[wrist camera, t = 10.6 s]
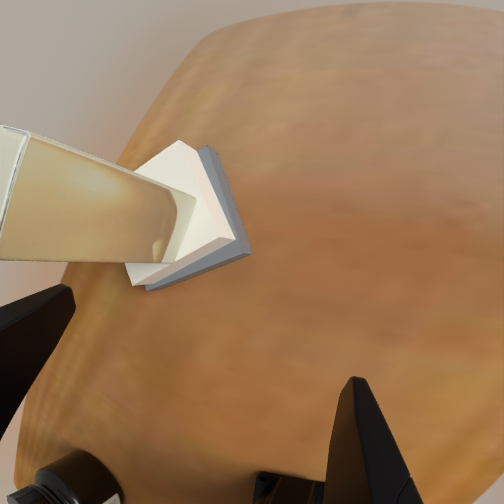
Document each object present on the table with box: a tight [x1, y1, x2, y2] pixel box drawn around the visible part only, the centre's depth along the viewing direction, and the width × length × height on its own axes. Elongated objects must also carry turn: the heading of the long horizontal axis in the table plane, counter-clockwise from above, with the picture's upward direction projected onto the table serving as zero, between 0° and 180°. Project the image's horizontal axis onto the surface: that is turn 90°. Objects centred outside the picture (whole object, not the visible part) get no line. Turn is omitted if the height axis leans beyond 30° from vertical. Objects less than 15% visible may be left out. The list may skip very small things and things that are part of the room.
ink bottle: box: [7, 451, 124, 504], centre depth 22 cm, size 10×9×12 cm
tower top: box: [125, 140, 236, 286], centre depth 21 cm, size 7×7×2 cm
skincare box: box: [0, 125, 197, 263], centre depth 14 cm, size 6×4×12 cm
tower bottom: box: [145, 146, 252, 291], centre depth 23 cm, size 8×8×2 cm
